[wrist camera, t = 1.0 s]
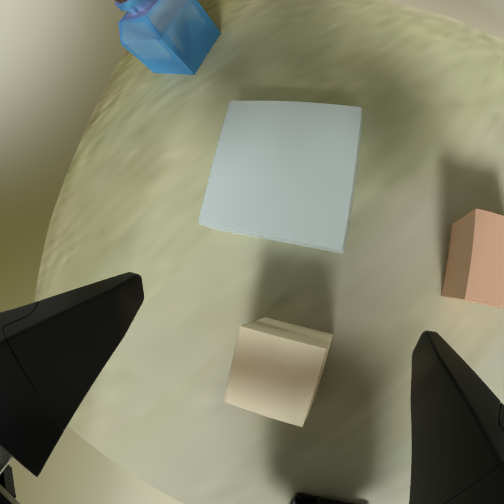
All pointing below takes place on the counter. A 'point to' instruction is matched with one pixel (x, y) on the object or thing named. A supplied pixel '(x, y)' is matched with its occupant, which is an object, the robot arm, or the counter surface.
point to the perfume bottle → (167, 34)
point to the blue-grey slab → (285, 172)
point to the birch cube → (277, 369)
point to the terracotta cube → (476, 259)
